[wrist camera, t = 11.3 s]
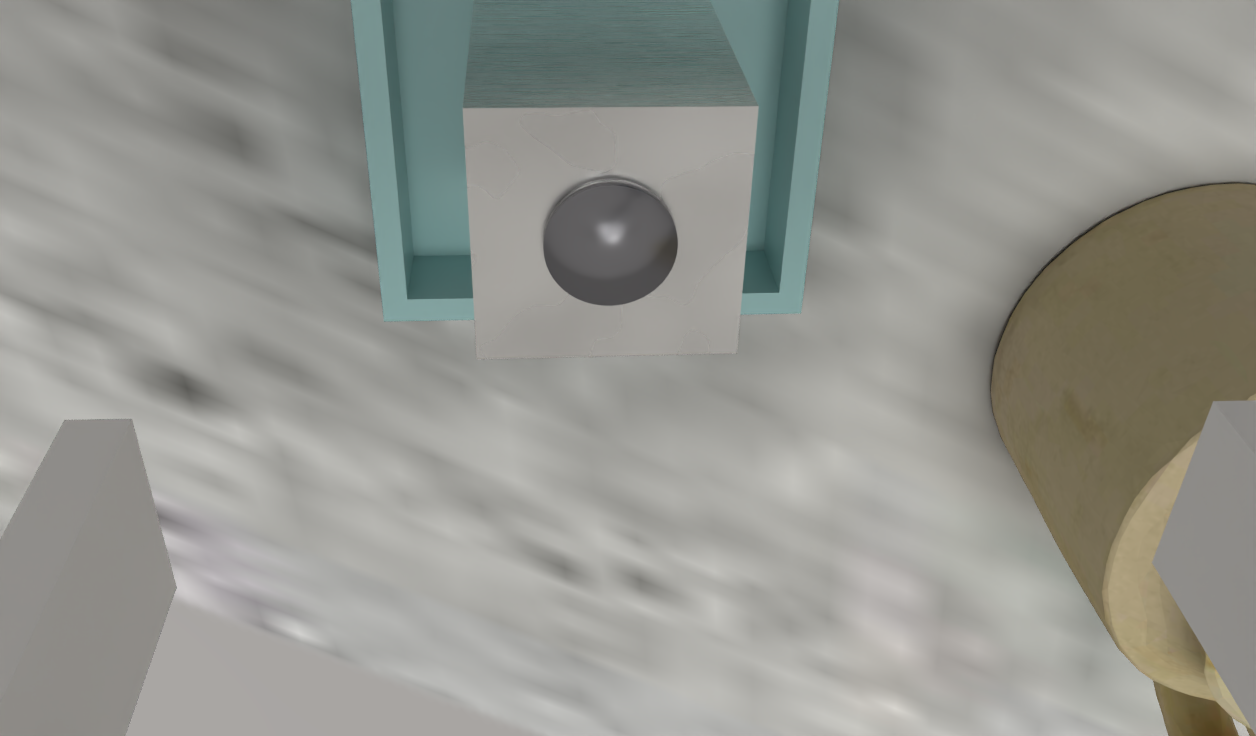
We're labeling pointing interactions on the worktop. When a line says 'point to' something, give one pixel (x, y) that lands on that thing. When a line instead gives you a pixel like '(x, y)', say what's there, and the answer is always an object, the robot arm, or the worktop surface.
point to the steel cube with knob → (606, 178)
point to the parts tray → (435, 150)
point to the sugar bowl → (1134, 412)
